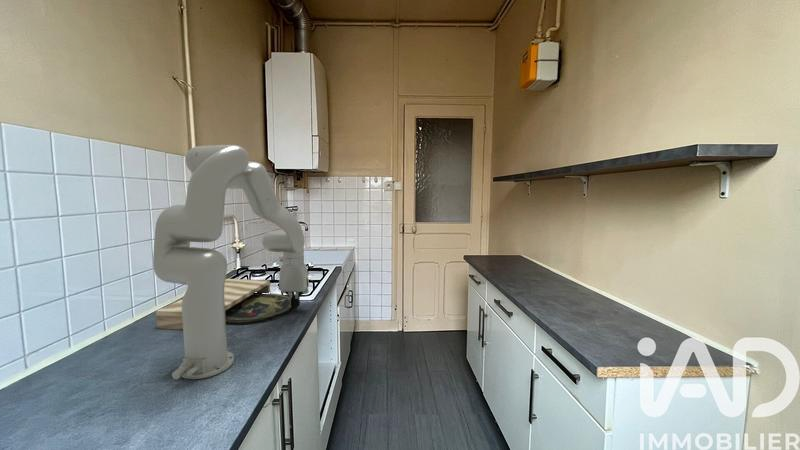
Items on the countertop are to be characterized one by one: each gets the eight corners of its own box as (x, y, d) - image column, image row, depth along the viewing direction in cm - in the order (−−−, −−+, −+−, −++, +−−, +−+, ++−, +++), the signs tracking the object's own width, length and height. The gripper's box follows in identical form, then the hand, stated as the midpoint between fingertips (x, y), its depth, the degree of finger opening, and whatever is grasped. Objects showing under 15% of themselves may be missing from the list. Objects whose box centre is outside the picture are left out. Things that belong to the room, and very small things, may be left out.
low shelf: (214, 330, 107) (213, 313, 106) (157, 328, 109) (156, 310, 108) (270, 293, 146) (269, 280, 145) (227, 291, 147) (227, 278, 147)
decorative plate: (268, 324, 109) (191, 316, 115) (268, 329, 109) (191, 321, 115) (309, 296, 138) (246, 291, 144) (309, 300, 138) (247, 295, 144)
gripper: (269, 262, 120) (272, 310, 122) (309, 264, 119) (310, 312, 121) (279, 258, 127) (281, 303, 129) (316, 259, 126) (317, 304, 128)
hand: (295, 307), depth 125 cm, fingers closed
